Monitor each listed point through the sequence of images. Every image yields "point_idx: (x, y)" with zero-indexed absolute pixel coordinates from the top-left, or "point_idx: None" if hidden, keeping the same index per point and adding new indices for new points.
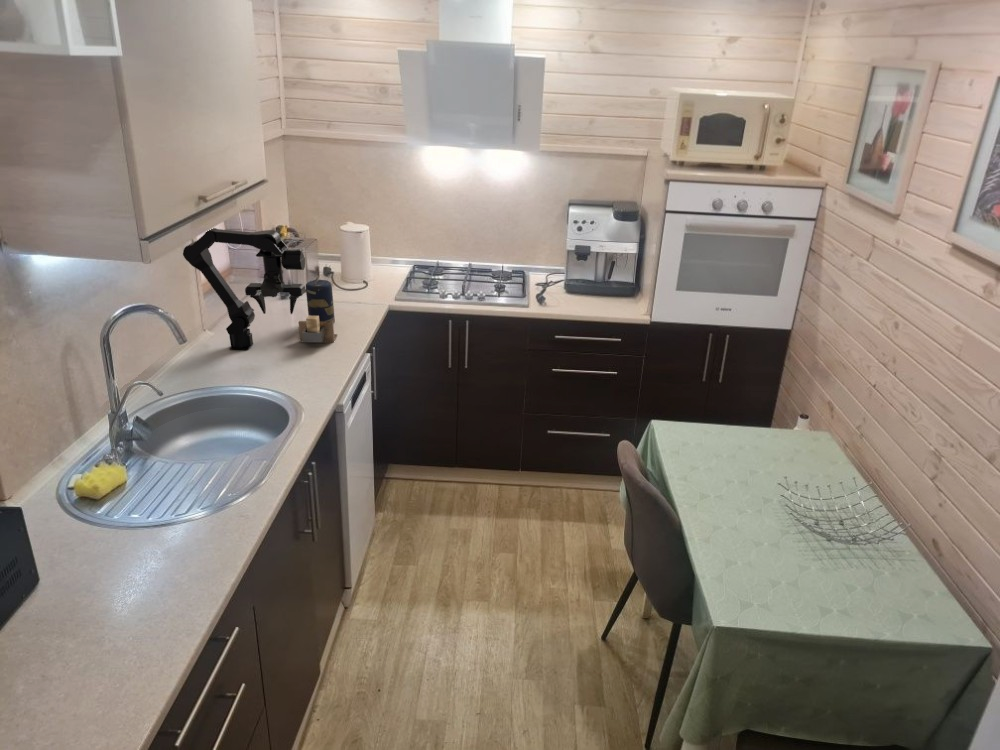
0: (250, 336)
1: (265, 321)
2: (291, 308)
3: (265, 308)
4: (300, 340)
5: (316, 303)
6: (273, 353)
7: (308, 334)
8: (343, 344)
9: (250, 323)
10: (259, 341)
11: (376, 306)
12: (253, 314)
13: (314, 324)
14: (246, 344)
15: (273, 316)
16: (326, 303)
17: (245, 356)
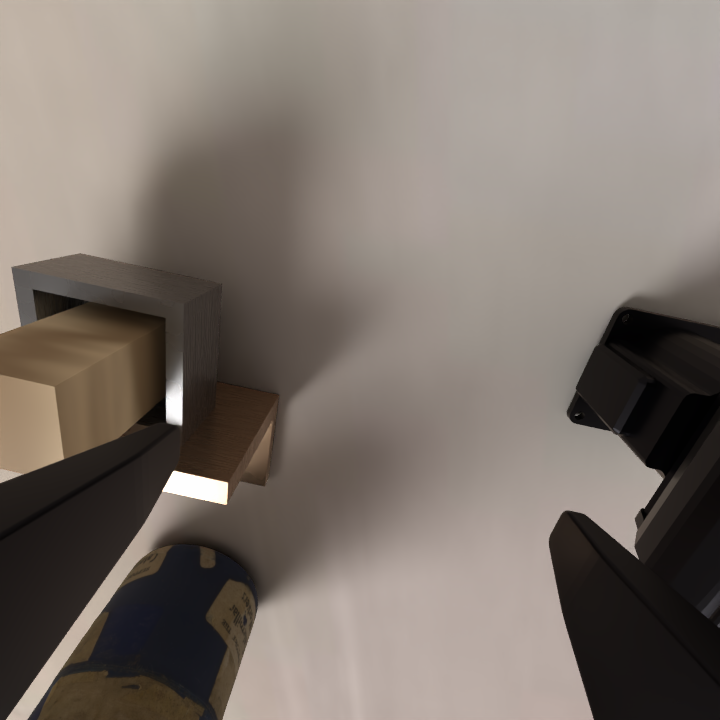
0: (624, 390)
1: (479, 669)
2: (78, 467)
3: (565, 609)
4: (275, 399)
5: (111, 712)
6: (439, 217)
7: (134, 286)
8: (11, 309)
9: (685, 461)
10: (524, 443)
11: (30, 703)
12: (675, 584)
13: (20, 341)
14: (635, 348)
15: (441, 705)
16: (49, 701)
17: (651, 184)
